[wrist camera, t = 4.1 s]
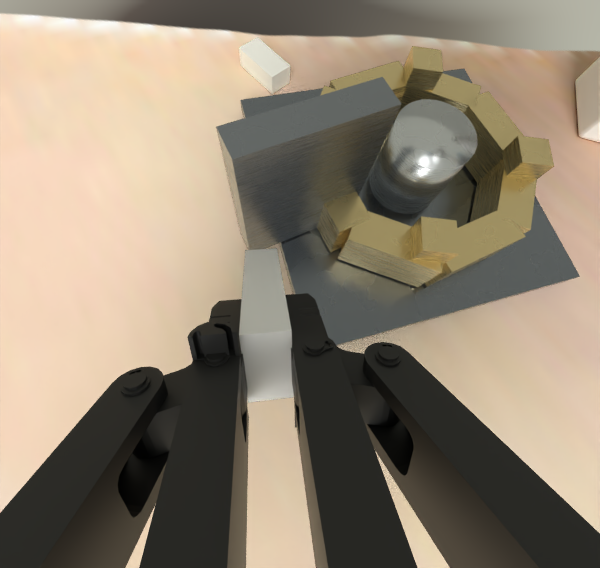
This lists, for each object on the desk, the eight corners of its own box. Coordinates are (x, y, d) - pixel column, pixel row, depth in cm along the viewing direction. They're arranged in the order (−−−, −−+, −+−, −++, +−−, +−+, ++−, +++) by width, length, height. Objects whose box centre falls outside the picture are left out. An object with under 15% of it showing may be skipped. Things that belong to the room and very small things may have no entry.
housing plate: (457, 79, 28) (505, 1, 22) (566, 280, 22) (667, 247, 17) (241, 110, 25) (232, 30, 19) (309, 353, 19) (325, 343, 14)
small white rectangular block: (289, 83, 26) (290, 65, 24) (272, 94, 25) (272, 77, 24) (258, 55, 26) (257, 37, 25) (240, 65, 26) (238, 47, 25)
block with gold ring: (431, 82, 26) (511, -66, 17) (542, 231, 22) (712, 138, 14) (204, 154, 22) (158, 8, 13) (294, 350, 18) (313, 326, 10)
